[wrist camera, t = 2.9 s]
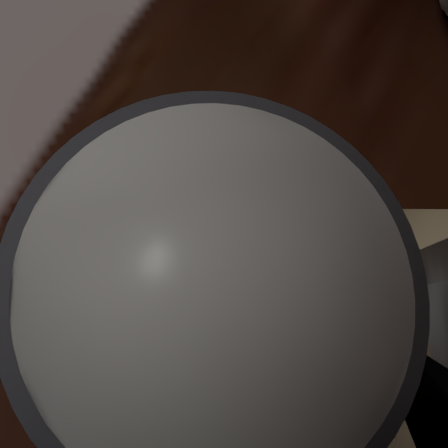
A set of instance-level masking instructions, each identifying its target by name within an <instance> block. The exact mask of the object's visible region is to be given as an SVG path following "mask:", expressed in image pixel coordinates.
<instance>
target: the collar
mask: <svg viewBox="0 0 448 448" xmlns="http://www.w3.org/2000/svg"><path fill="white" fill-rule="evenodd" d="M403 211H404V213H405V215H406V217H407V219H408V221H409V223H410V225H411V227H412V230H413V233H414V235H415V238H416V241H417V243H418V246H419V249H420V252H421V256H422V260H423V264H424V268H425V272H426V278H427V286H428V293H429V301H430V331H429V340H428V348H427V355H428V356H429V357H431V358H432V359H434V360H435V361H437V362H438V363H440V364H442V365H443V366H445V367H446V368H448V209H403ZM387 448H416V447H415V444H414V442H413V439H412V437H411V434H410V432H409V429H408V427H407V424H406V422H405V420H404V422H403V424H402V425H401V427H400V429H399V431H398V433H397V434H396V436H395V438H394V439H393V441H392V442H391V443H390V445H389V446H388V447H387Z"/></svg>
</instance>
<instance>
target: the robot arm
mask: <svg viewBox="0 0 448 448" xmlns="http://www.w3.org/2000/svg"><path fill="white" fill-rule="evenodd" d="M405 422H406V424H407V427H408V429H409V432H410V434H411V437H412V439H413V442H414V444H415V447H416V448H448V368H446V367H445V366H443V365H442V364H440V363H438V362H437V361H435V360H434V359H432V358H431V357H429V356H428V355H427V357H426V361H425V365H424V369H423V373H422V377H421V381H420V385H419V388H418V390H417V393H416V395H415V398H414V400H413V403H412V405H411V408H410V411H409V413H408V415H407V416H406V418H405Z"/></svg>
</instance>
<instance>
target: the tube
mask: <svg viewBox="0 0 448 448" xmlns="http://www.w3.org/2000/svg"><path fill="white" fill-rule="evenodd" d="M429 331H430V301H429V293H428V286H427V278H426V272H425V268H424V264H423V260H422V256H421V252H420V249H419V246H418V243H417V241H416V238H415V235H414V233H413V230H412V227H411V225H410V223H409V221H408V219H407V217H406V215H405V213H404V211H403V209H402V207H401V205H400V203H399V202H398V200H397V199H396V197H395V196H394V194H393V193H392V191H391V190H390V188H389V186H388V185H387V183H386V182H385V181H384V179H383V178H382V177H381V176H380V175H379V173H378V172H377V171H376V170H375V169H374V167H373V166H372V165H371V164H370V163H369V161H367V160H366V159H365V158H364V157H363V156H362V155H361V154H360V153H359V152H358V151H357V150H356V149H355V148H354V147H353V146H352V145H351V144H349V143H348V142H347V141H346V140H344V139H343V138H342V137H340V136H339V135H338V134H336V133H335V132H334V131H333V130H331V129H330V128H328V127H326V126H325V125H323V124H321V123H320V122H318V121H316V120H315V119H313V118H311V117H310V116H308V115H305V114H303V113H301V112H299V111H297V110H295V109H292V108H290V107H288V106H285V105H282V104H279V103H276V102H273V101H270V100H267V99H264V98H260V97H255V96H250V95H246V94H241V93H232V92H222V91H190V92H182V93H174V94H167V95H162V96H158V97H154V98H150V99H146V100H142V101H140V102H137V103H134V104H132V105H129V106H127V107H124V108H121V109H119V110H117V111H115V112H113V113H111V114H109V115H107V116H105V117H103V118H101V119H99V120H97V121H96V122H94V123H93V124H91V125H90V126H88V127H87V128H85V129H84V130H82V131H81V132H80V133H78V134H77V135H75V136H74V137H73V138H71V139H70V140H69V141H68V142H67V143H66V144H65V145H64V146H63V147H61V148H60V149H59V150H58V151H57V152H56V153H55V154H54V155H53V156H52V157H51V158H50V159H49V160H48V161H47V163H46V164H45V165H44V166H43V167H42V168H41V169H40V171H39V172H38V173H37V174H36V175H35V177H34V178H33V180H32V181H31V183H30V184H29V186H28V187H27V189H26V190H25V192H24V193H23V195H22V196H21V198H20V199H19V201H18V203H17V205H16V207H15V209H14V211H13V213H12V215H11V217H10V220H9V222H8V224H7V226H6V229H5V232H4V235H3V238H2V241H1V244H0V378H1V381H2V384H3V386H4V389H5V391H6V394H7V396H8V398H9V401H10V403H11V406H12V408H13V411H14V412H15V414H16V416H17V418H18V419H19V421H20V423H21V424H22V426H23V428H24V429H25V431H26V433H27V435H28V436H29V438H30V440H31V441H32V442H33V443H34V445H35V446H36V447H37V448H387V447H388V446H389V445H390V443H391V442H392V441H393V439H394V438H395V436H396V434H397V433H398V431H399V429H400V427H401V425H402V424H403V422H404V420H405V418H406V416H407V415H408V413H409V411H410V408H411V405H412V403H413V400H414V398H415V395H416V393H417V390H418V388H419V385H420V381H421V377H422V373H423V369H424V365H425V361H426V357H427V348H428V340H429Z"/></svg>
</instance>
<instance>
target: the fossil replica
mask: <svg viewBox="0 0 448 448" xmlns="http://www.w3.org/2000/svg"><path fill="white" fill-rule="evenodd" d="M439 1H440V6H441V9H442V10H444V11H445V13H446V14H447V16H448V0H439Z"/></svg>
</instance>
